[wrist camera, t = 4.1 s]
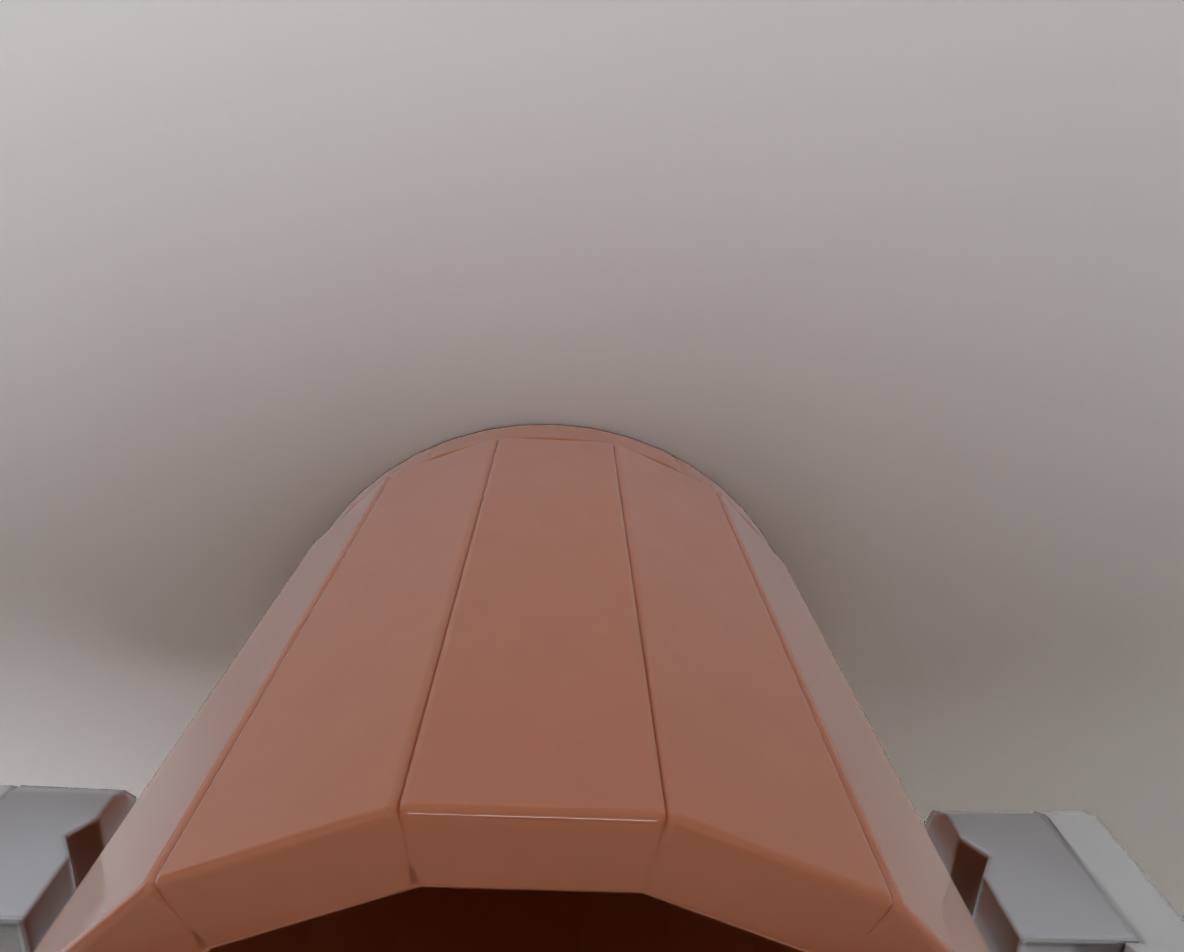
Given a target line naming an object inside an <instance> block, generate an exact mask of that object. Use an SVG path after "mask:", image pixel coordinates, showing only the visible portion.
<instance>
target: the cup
mask: <svg viewBox="0 0 1184 952" xmlns="http://www.w3.org/2000/svg"><path fill="white" fill-rule="evenodd" d="M34 952H990V950H989V948H988V946H987V944H986V942H985V940H984V939H983V937H982V935H981V933H980V931H979V929H978V927H977V925H976V923H975V922H974V920H973V918H972V916H971V914H970V912H969V910H968V908H967V906H966V905H965V903H964V901H963V899H962V897H961V895H960V893H959V891H958V890H957V888H956V886H955V884H954V882H953V880H952V878H951V876H950V874H949V873H948V871H947V869H946V867H945V865H944V863H943V861H942V859H941V857H940V856H939V854H938V852H937V850H936V848H935V846H934V844H933V842H932V841H931V839H930V837H929V835H928V833H927V831H926V829H925V827H924V825H923V824H922V822H921V820H920V818H919V816H918V814H917V812H916V810H915V808H914V807H913V805H912V803H911V801H910V799H909V797H908V795H907V793H906V791H905V790H904V788H903V786H902V784H901V782H900V780H899V778H898V776H897V775H896V773H895V771H894V769H893V767H892V765H891V763H890V761H889V759H888V758H887V756H886V754H885V752H884V750H883V748H882V746H881V744H880V742H879V741H878V739H877V737H876V735H875V733H874V731H873V729H872V727H871V726H870V724H869V722H868V720H867V718H866V716H865V714H864V712H863V710H862V709H861V707H860V705H859V703H858V701H857V699H856V697H855V695H854V693H853V692H852V690H851V688H850V686H849V684H848V682H847V680H846V678H845V676H844V675H843V673H842V671H841V669H840V667H839V665H838V663H837V661H836V660H835V658H834V656H833V654H832V652H831V650H830V648H829V646H828V644H827V643H826V641H825V639H824V637H823V635H822V633H821V631H820V629H819V627H818V626H817V624H816V622H815V620H814V618H813V616H812V614H811V612H810V610H809V609H808V607H807V605H806V603H805V601H804V599H803V597H802V595H801V594H800V592H799V590H798V588H797V586H796V584H795V582H794V580H793V578H792V577H791V575H790V573H789V571H788V570H787V568H786V566H785V564H784V562H783V561H782V560H781V559H780V558H779V557H778V556H777V555H776V554H775V552H774V551H773V550H772V549H771V547H770V546H769V544H768V542H767V540H766V539H765V537H764V535H763V534H762V532H761V531H760V530H759V529H758V527H757V526H756V525H755V524H754V522H753V521H752V520H751V518H750V517H749V516H748V515H747V513H746V512H745V511H744V510H743V508H741V507H740V506H739V505H738V504H737V503H736V502H735V501H734V500H733V499H732V498H731V497H730V496H729V495H728V494H727V493H726V492H725V491H724V490H723V489H722V488H721V487H720V486H718V485H717V484H716V483H714V482H713V481H711V480H710V479H709V478H707V477H706V476H705V475H703V474H702V473H700V472H699V471H698V470H696V469H695V468H694V467H692V466H690V465H688V464H687V463H685V462H683V461H681V460H679V459H677V458H675V457H674V456H672V455H670V454H668V453H666V452H664V451H663V450H660V449H658V448H655V447H653V446H650V445H647V444H645V443H642V442H639V441H637V440H634V439H632V438H629V437H625V436H621V435H617V434H613V433H609V432H604V431H600V430H596V429H591V428H582V427H573V426H563V425H519V426H512V427H505V428H498V429H492V430H485V431H481V432H477V433H474V434H470V435H466V436H463V437H459V438H456V439H452V440H449V441H446V442H444V443H442V444H439V445H437V446H435V447H432V448H430V449H428V450H425V451H423V452H420V453H418V454H416V455H414V456H413V457H411V458H409V459H408V460H406V461H404V462H403V463H401V464H399V465H398V466H396V467H394V468H392V469H391V470H389V471H387V472H386V473H385V474H384V475H382V476H381V477H380V478H379V479H377V480H376V481H375V482H373V483H372V484H371V485H370V486H368V487H367V488H366V489H365V490H363V491H362V492H361V493H360V494H359V495H358V496H357V497H356V498H355V499H354V500H353V501H352V502H351V503H350V504H349V506H348V507H347V508H346V509H345V510H344V511H343V512H342V513H341V514H340V515H339V516H338V517H337V519H336V520H335V522H334V523H333V524H332V526H331V527H330V529H329V530H328V531H326V532H325V533H324V534H323V535H322V536H321V537H320V538H319V539H318V540H317V541H315V542H314V543H313V545H312V546H311V548H310V549H309V551H308V552H307V553H306V555H305V556H304V558H303V559H302V561H301V562H300V564H299V565H298V567H297V568H296V570H295V571H294V572H293V574H292V575H291V577H290V578H289V580H288V581H287V583H286V584H285V586H284V587H283V588H282V590H281V591H280V593H279V594H278V596H277V597H276V599H275V600H274V602H273V603H272V605H271V606H270V607H269V609H268V610H267V612H266V613H265V615H264V616H263V618H262V619H261V621H260V622H259V624H258V625H257V626H256V628H255V629H254V631H253V632H252V634H251V635H250V637H249V638H248V640H247V641H246V642H245V644H244V645H243V647H242V648H241V650H240V651H239V653H238V654H237V656H236V657H235V659H234V660H233V661H232V663H231V664H230V666H229V667H228V669H227V670H226V672H225V673H224V675H223V676H222V678H221V679H220V680H219V682H218V683H217V685H216V686H215V688H214V689H213V691H212V692H211V694H210V695H209V696H208V698H207V699H206V701H205V702H204V704H203V705H202V707H201V708H200V710H199V711H198V713H197V714H196V715H195V717H194V718H193V720H192V721H191V723H190V724H189V726H188V727H187V729H186V730H185V731H184V733H183V734H182V736H181V737H180V739H179V740H178V742H177V743H176V745H175V746H174V748H173V749H172V750H171V752H170V753H169V755H168V756H167V758H166V759H165V761H164V762H163V764H162V765H161V767H160V768H159V769H158V771H157V772H156V774H155V775H154V777H153V778H152V780H151V781H150V783H149V784H148V785H147V787H146V788H145V790H144V791H143V793H142V794H141V796H140V797H139V799H138V800H137V802H136V803H135V804H134V806H133V807H132V809H131V810H130V812H129V813H128V815H127V816H126V818H125V819H124V821H123V822H122V823H121V825H120V826H119V828H118V829H117V831H116V832H115V834H114V835H113V837H112V838H111V839H110V841H109V842H108V844H107V845H106V847H105V848H104V850H103V851H102V853H101V854H100V856H99V857H98V858H97V860H96V861H95V863H94V864H93V866H92V867H91V869H90V870H89V872H88V873H87V875H86V876H85V877H84V879H83V880H82V882H81V883H80V885H79V886H78V888H77V889H76V891H75V892H74V893H73V895H72V896H71V898H70V899H69V901H68V902H67V904H66V905H65V907H64V908H63V910H62V911H61V912H60V914H59V915H58V917H57V918H56V920H55V921H54V923H53V924H52V926H51V927H50V929H49V930H48V931H47V933H46V934H45V936H44V937H43V939H42V940H41V942H40V943H39V945H38V946H37V947H36V949H35V950H34Z"/></svg>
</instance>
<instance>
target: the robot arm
mask: <svg viewBox="0 0 1184 952" xmlns="http://www.w3.org/2000/svg"><path fill="white" fill-rule="evenodd" d="M136 802H137V799H136V797H135V796H134V795H132V794H130V793H129V792H127V791H126V790H110V789H89V788H68V787H47V786H27V785H21V786H19V787H18V786H10V785H0V952H34V950H35V949H36V947H37V946H38V945H39V943H40V942H41V940H42V939H43V937H44V936H45V934H46V933H47V931H48V930H49V929H50V927H51V926H52V924H53V923H54V921H55V920H56V918H57V917H58V915H59V914H60V912H61V911H62V910H63V908H64V907H65V905H66V904H67V902H68V901H69V899H70V898H71V896H72V895H73V893H74V892H75V891H76V889H77V888H78V886H79V885H80V883H81V882H82V880H83V879H84V877H85V876H86V875H87V873H88V872H89V870H90V869H91V867H92V866H93V864H94V863H95V861H96V860H97V858H98V857H99V856H100V854H101V853H102V851H103V850H104V848H105V847H106V845H107V844H108V842H109V841H110V839H111V838H112V837H113V835H114V834H115V832H116V831H117V829H118V828H119V826H120V825H121V823H122V822H123V821H124V819H125V818H126V816H127V815H128V813H129V812H130V810H131V809H132V807H133V806H134V804H135V803H136ZM925 829H926V831H927V833H928V835H929V837H930V839H931V841H932V842H933V844H934V846H935V848H936V850H937V852H938V854H939V856H940V857H941V859H942V861H943V863H944V865H945V867H946V869H947V871H948V873H949V874H950V876H951V878H952V880H953V882H954V884H955V886H956V888H957V890H958V891H959V893H960V895H961V897H962V899H963V901H964V903H965V905H966V906H967V908H968V910H969V912H970V914H971V916H972V918H973V920H974V922H975V923H976V925H977V927H978V929H979V931H980V933H981V935H982V937H983V939H984V940H985V942H986V944H987V946H988V948H989V950H990V952H1184V921H1183V920H1182V919H1181V918H1180V917H1179V915H1178V914H1177V913H1176V912H1175V911H1174V909H1173V908H1172V907H1171V906H1170V904H1169V903H1168V902H1167V901H1166V900H1165V898H1164V897H1163V896H1162V895H1161V893H1160V892H1159V891H1158V890H1157V889H1156V887H1155V886H1154V885H1153V884H1152V883H1151V881H1150V880H1149V879H1148V878H1147V876H1146V875H1145V874H1144V873H1143V872H1142V870H1141V869H1140V868H1139V867H1138V865H1137V864H1136V863H1135V862H1134V861H1133V859H1132V858H1131V857H1130V856H1129V855H1128V853H1127V852H1126V851H1125V850H1124V848H1123V847H1122V846H1121V845H1120V844H1119V842H1118V841H1117V840H1116V839H1115V837H1114V836H1113V835H1112V834H1111V833H1110V831H1109V830H1108V829H1107V828H1106V827H1105V825H1104V824H1103V823H1102V822H1101V820H1099V819H1098V818H1097V817H1095V816H1093V815H1092V814H1090V813H1088V812H1086V811H1034V812H1033V813H1031V812H993V811H939V810H933V811H932V813H931V815H930V816H929V818H928V819H927V821H926V822H925Z"/></svg>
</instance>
